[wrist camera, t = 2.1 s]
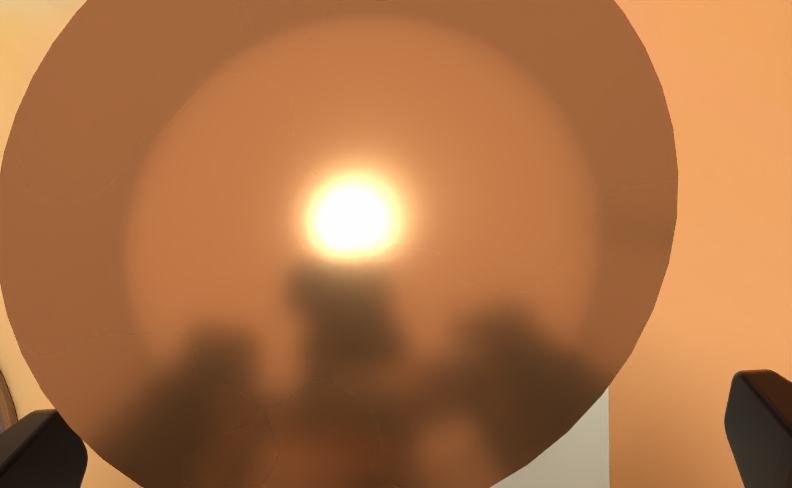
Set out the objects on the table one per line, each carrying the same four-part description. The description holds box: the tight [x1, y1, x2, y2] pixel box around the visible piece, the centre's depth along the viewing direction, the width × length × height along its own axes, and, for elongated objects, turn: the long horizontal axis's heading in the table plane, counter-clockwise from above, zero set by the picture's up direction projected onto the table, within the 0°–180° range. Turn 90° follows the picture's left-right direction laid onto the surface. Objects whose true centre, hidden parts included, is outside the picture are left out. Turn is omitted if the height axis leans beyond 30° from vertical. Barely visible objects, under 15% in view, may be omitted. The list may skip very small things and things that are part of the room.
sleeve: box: [0, 0, 678, 488], centre depth 11 cm, size 6×6×13 cm
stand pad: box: [490, 388, 610, 488], centre depth 18 cm, size 10×10×1 cm
